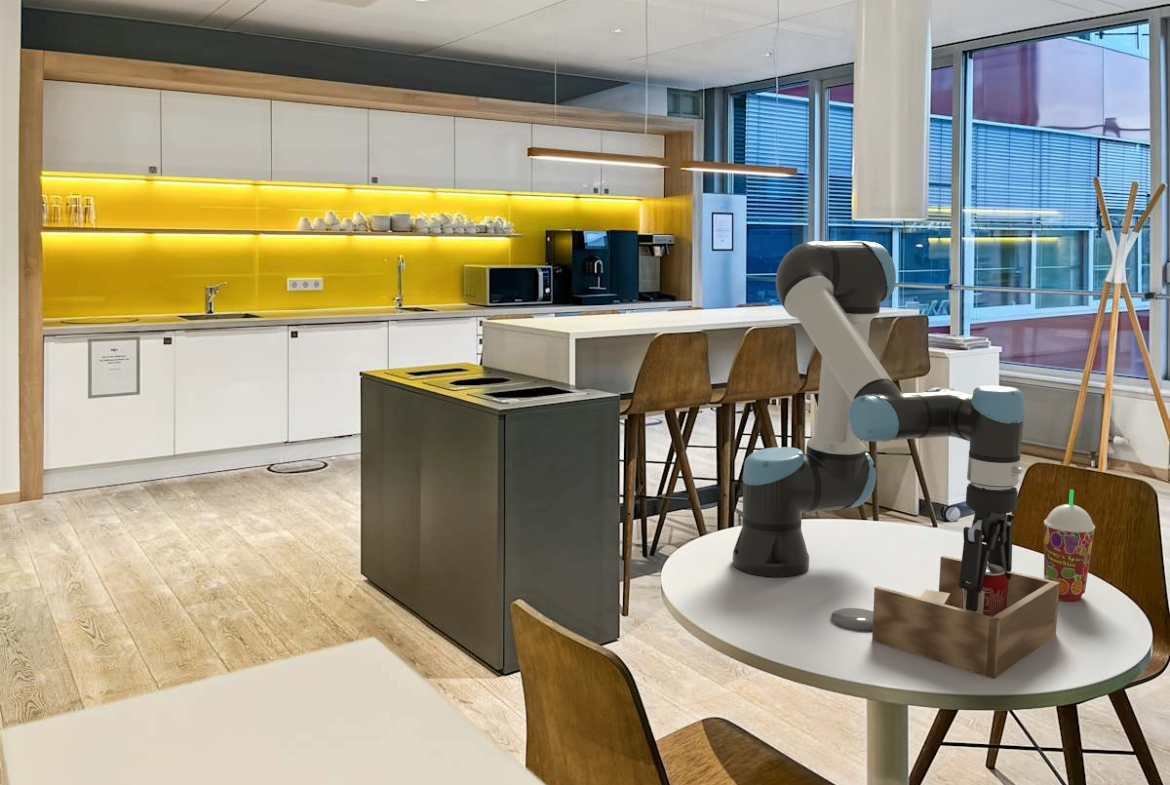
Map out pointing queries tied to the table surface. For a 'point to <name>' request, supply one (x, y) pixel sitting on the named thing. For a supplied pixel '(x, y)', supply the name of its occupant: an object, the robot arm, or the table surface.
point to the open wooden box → (968, 623)
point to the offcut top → (937, 596)
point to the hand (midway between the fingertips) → (982, 622)
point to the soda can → (993, 590)
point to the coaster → (853, 619)
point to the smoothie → (1068, 549)
